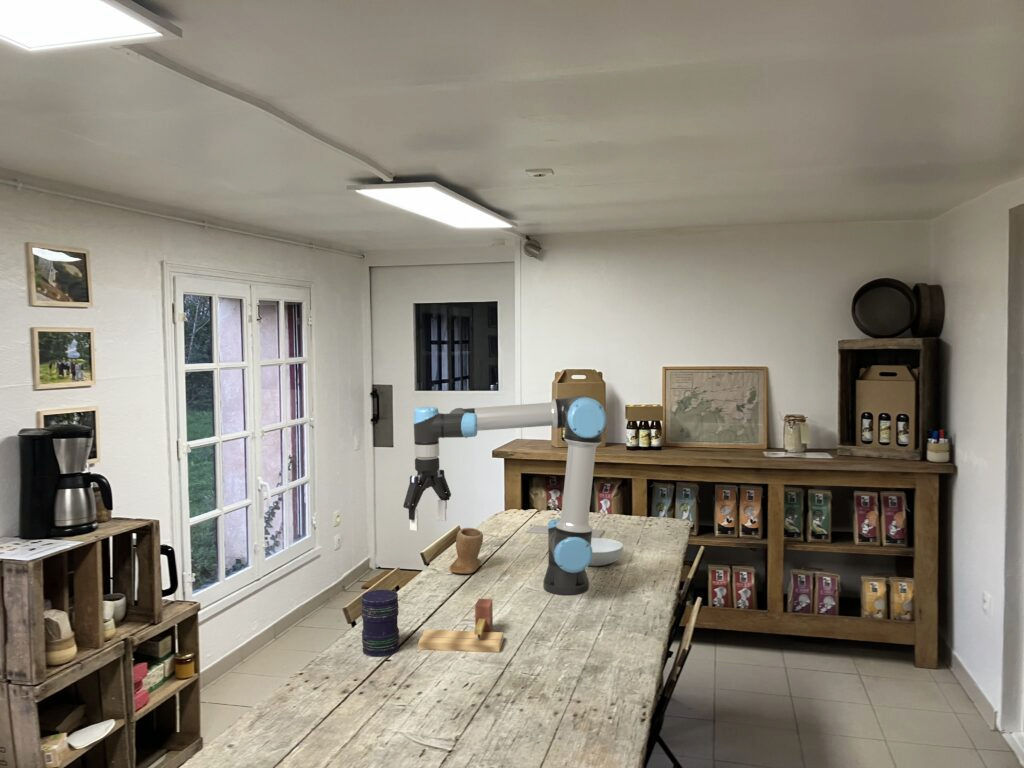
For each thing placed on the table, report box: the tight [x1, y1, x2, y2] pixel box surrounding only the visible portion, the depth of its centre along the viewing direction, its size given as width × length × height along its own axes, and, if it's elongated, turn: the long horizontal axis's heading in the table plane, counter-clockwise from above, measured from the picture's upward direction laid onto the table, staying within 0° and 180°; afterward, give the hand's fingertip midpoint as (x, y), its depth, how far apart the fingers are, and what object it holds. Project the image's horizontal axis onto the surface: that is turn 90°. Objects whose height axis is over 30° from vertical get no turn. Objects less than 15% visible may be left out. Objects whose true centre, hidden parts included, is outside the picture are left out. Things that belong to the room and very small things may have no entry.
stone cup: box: [448, 527, 484, 575], centre depth 285 cm, size 15×12×15 cm
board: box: [417, 629, 504, 653], centre depth 218 cm, size 22×9×2 cm, turn 83°
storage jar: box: [360, 589, 400, 658], centre depth 214 cm, size 10×10×15 cm
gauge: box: [473, 598, 494, 638], centre depth 221 cm, size 4×14×9 cm, turn 173°
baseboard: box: [527, 522, 606, 538], centre depth 336 cm, size 31×3×12 cm
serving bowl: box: [588, 537, 624, 567], centre depth 293 cm, size 21×21×7 cm
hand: (428, 525), depth 247 cm, fingers open, 13 cm apart
